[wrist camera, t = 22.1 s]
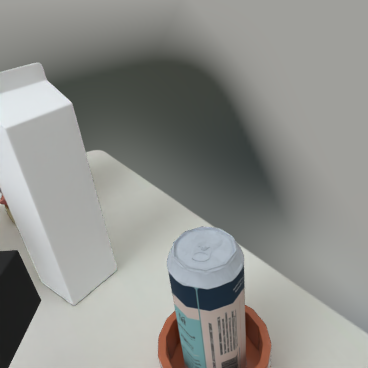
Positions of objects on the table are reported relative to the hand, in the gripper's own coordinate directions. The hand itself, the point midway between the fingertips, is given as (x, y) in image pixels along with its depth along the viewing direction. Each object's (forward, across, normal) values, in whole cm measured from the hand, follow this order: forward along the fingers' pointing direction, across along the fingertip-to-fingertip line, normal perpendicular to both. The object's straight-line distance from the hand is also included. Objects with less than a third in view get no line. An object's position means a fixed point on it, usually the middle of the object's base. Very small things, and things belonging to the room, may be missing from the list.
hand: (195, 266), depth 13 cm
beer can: (+7, 0, -17) cm, 18 cm away
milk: (+18, -15, -18) cm, 29 cm away
